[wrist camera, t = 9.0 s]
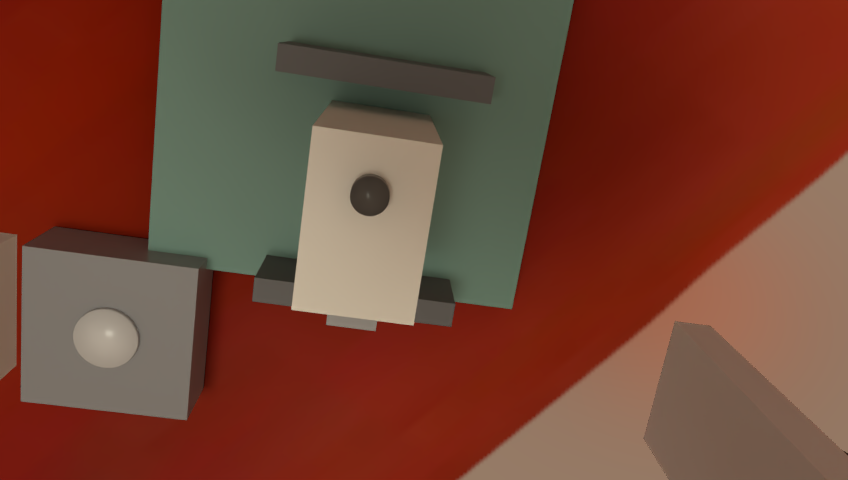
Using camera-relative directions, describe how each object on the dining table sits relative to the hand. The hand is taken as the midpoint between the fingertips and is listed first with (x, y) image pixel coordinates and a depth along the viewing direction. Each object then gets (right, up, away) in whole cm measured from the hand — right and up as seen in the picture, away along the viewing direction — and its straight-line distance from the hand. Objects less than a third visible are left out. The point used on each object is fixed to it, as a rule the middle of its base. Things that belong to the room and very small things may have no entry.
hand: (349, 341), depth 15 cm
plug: (-1, +5, +16) cm, 17 cm away
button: (-12, -1, +19) cm, 23 cm away
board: (-1, +11, +16) cm, 19 cm away
